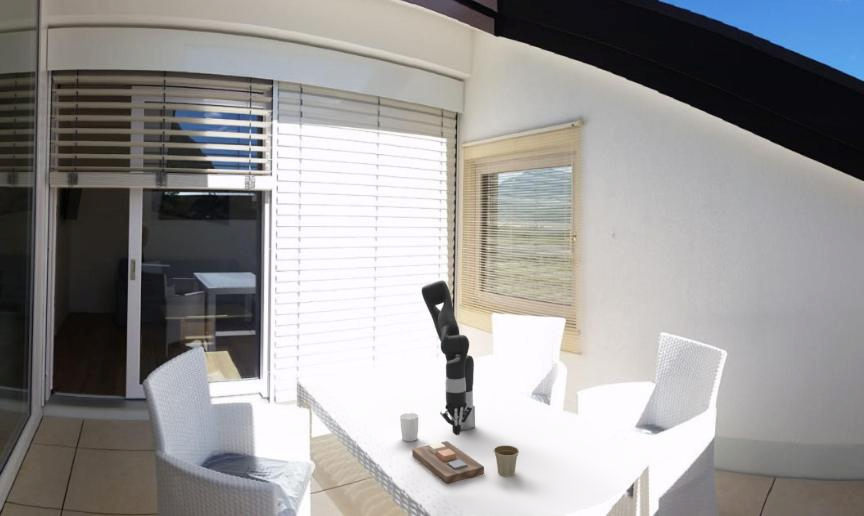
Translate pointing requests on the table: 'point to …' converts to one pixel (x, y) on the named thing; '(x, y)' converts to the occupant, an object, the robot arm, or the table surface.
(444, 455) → the terracotta pad
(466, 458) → the button board
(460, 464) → the grey pad
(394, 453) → the table surface
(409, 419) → the white cup
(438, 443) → the cream pad
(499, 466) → the flower pot
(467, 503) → the table surface
